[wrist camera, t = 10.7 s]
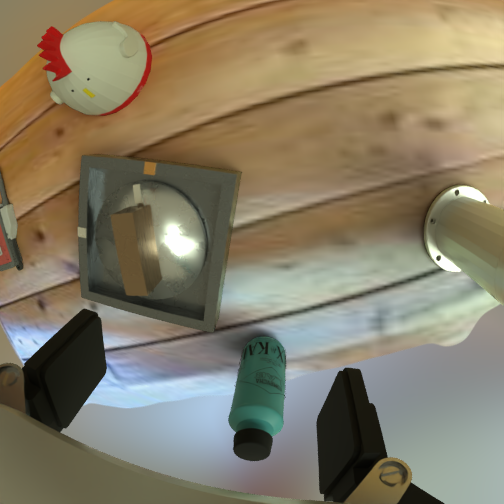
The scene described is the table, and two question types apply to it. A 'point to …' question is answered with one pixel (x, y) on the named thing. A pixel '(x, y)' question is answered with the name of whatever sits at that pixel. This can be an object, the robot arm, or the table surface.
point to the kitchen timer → (96, 66)
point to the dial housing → (207, 205)
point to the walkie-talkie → (8, 234)
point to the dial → (150, 239)
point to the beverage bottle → (258, 398)
